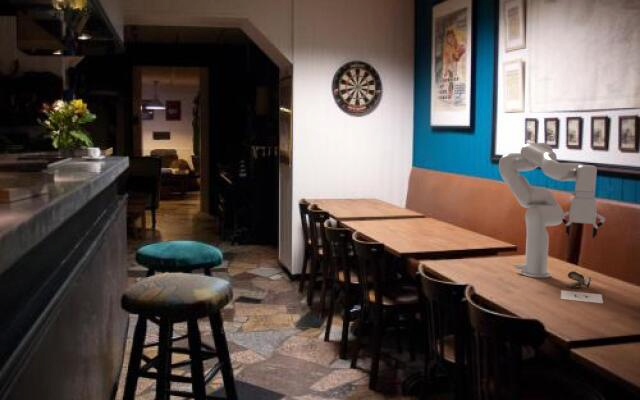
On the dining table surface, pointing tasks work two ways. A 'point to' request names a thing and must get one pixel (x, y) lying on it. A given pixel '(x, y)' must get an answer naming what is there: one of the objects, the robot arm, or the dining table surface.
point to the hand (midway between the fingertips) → (580, 236)
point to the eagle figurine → (578, 278)
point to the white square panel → (581, 296)
